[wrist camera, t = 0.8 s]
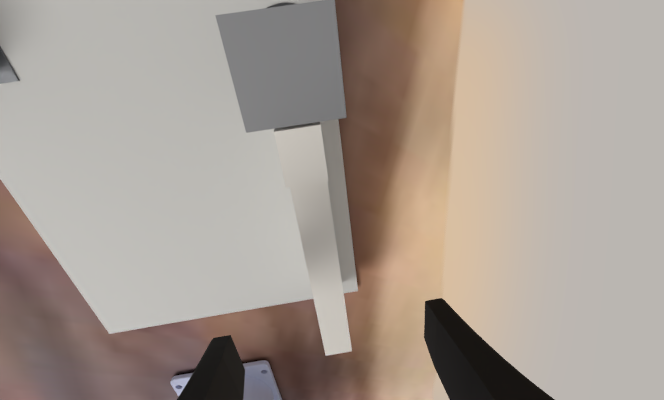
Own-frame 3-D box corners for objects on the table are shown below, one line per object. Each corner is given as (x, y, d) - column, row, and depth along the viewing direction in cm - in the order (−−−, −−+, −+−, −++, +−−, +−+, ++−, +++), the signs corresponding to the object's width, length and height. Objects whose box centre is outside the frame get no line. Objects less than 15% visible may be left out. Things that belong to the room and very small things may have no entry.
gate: (247, 23, 14) (215, 15, 8) (318, 13, 14) (334, -2, 8) (307, 293, 22) (311, 383, 16) (352, 285, 22) (372, 372, 16)
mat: (356, 286, 23) (357, 290, 23) (112, 329, 22) (109, 333, 22) (317, -51, 14) (318, -53, 13) (-111, 6, 13) (-122, 5, 13)
